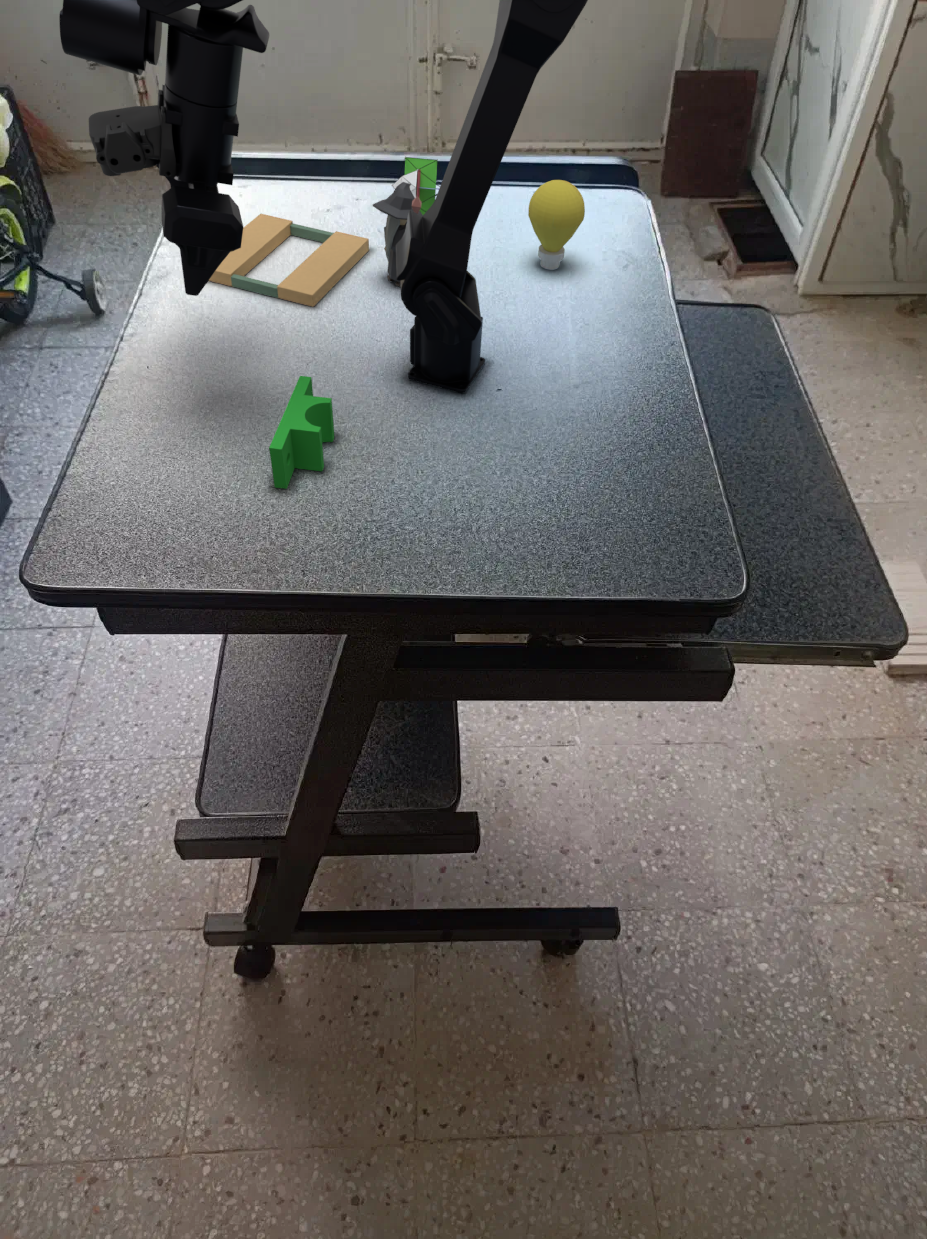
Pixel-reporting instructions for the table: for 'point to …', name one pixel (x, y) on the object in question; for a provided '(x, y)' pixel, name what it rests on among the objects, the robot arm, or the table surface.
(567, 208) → the light bulb
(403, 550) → the table surface
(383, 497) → the table surface
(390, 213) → the wizard figurine
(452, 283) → the robot arm
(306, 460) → the pipe clamp
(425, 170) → the geometric puzzle
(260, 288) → the square wooden frame
